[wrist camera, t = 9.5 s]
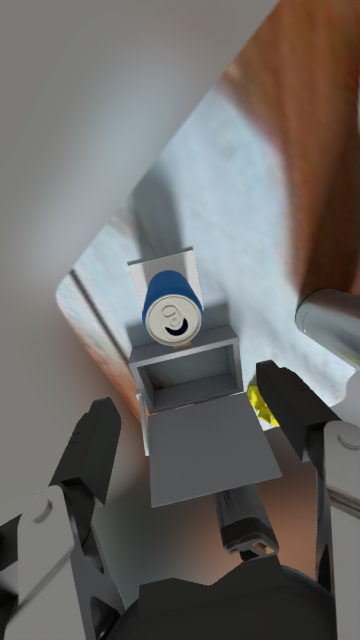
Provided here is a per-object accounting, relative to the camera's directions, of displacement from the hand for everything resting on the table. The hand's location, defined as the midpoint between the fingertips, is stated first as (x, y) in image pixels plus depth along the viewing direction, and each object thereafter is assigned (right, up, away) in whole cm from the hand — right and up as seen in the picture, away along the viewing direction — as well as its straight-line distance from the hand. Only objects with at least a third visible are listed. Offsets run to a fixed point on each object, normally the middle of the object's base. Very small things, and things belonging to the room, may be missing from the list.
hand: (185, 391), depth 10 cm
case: (+1, -6, +27) cm, 28 cm away
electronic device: (+8, -20, +34) cm, 41 cm away
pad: (-2, +9, +20) cm, 22 cm away
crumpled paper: (+18, -12, +32) cm, 38 cm away
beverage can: (-2, +9, +19) cm, 21 cm away
